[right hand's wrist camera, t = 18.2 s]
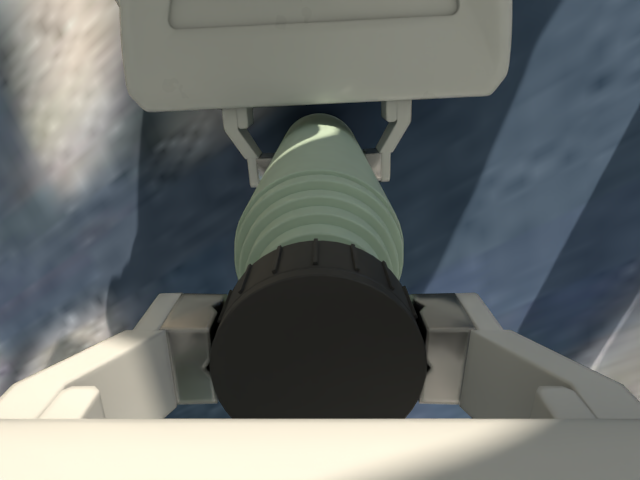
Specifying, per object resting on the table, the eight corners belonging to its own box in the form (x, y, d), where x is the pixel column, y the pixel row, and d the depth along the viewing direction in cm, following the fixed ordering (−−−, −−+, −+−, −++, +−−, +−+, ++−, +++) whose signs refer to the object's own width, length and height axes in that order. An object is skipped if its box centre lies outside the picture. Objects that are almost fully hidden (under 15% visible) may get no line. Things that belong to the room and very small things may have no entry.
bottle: (371, 139, 31) (508, 319, 8) (331, 202, 32) (357, 489, 10) (306, 97, 30) (265, 176, 7) (268, 164, 31) (141, 392, 9)
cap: (308, 195, 9) (305, 223, 7) (452, 315, 10) (478, 363, 8) (188, 331, 10) (163, 380, 8) (328, 425, 11) (329, 486, 9)
